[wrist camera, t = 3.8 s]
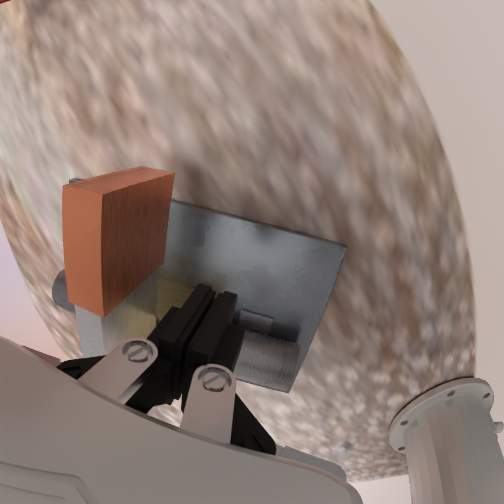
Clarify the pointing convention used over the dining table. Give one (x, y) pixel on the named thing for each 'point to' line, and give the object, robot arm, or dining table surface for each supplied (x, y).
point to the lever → (115, 253)
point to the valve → (247, 284)
